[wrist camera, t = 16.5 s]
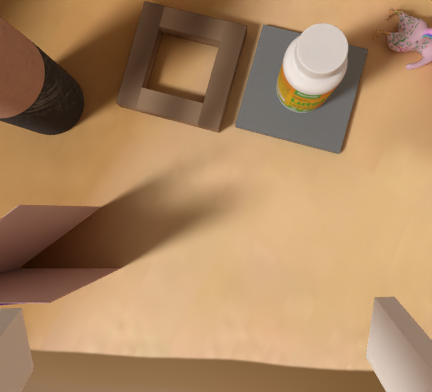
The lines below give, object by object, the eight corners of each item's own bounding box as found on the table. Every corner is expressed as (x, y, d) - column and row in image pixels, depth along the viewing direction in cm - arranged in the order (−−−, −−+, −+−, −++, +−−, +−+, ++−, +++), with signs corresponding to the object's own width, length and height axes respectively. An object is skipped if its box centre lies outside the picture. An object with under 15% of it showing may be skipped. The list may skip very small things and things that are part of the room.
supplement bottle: (281, 118, 39) (295, 89, 29) (270, 68, 39) (280, 22, 29) (333, 107, 38) (364, 74, 29) (322, 56, 39) (350, 6, 29)
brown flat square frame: (120, 106, 41) (115, 102, 39) (148, 9, 41) (144, 1, 39) (219, 132, 40) (218, 129, 38) (246, 32, 40) (247, 25, 38)
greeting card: (17, 277, 41) (-113, 316, 26) (17, 208, 41) (-112, 207, 26) (121, 276, 40) (49, 316, 25) (120, 206, 40) (48, 204, 25)
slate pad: (235, 127, 40) (235, 125, 39) (262, 27, 40) (263, 24, 39) (338, 153, 39) (339, 153, 38) (366, 51, 39) (367, 49, 38)
